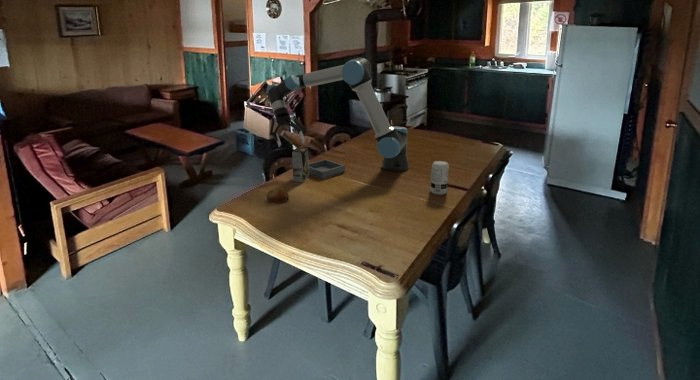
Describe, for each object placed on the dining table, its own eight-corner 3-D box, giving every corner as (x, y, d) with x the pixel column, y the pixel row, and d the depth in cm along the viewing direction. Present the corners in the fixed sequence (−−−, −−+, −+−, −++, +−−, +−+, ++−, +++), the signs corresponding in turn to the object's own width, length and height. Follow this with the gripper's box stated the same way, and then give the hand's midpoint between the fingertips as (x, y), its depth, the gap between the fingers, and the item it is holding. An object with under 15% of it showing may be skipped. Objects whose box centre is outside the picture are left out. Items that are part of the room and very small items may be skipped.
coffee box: (304, 182, 256) (303, 152, 250) (292, 181, 257) (291, 151, 252) (309, 176, 265) (308, 147, 259) (297, 175, 266) (296, 146, 260)
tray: (344, 172, 271) (344, 165, 270) (322, 179, 261) (322, 172, 259) (325, 165, 282) (325, 159, 281) (303, 172, 272) (303, 165, 270)
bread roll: (280, 202, 241) (274, 187, 240) (295, 198, 234) (289, 182, 234) (266, 209, 233) (260, 193, 232) (281, 204, 227) (274, 188, 226)
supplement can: (428, 189, 248) (430, 160, 242) (444, 188, 248) (446, 160, 243) (432, 195, 240) (434, 165, 235) (448, 194, 241) (451, 165, 236)
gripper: (299, 112, 279) (311, 144, 272) (257, 116, 268) (268, 150, 261) (303, 104, 273) (315, 137, 266) (259, 108, 261) (271, 143, 255)
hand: (292, 144), depth 263 cm, fingers open, 13 cm apart
